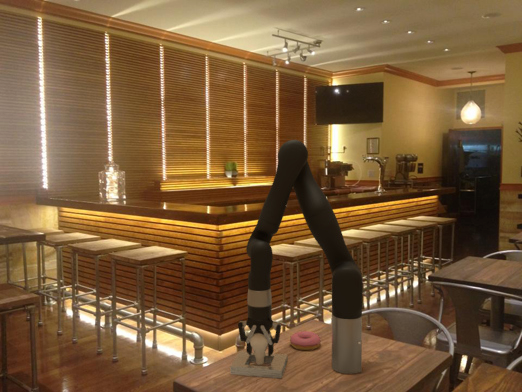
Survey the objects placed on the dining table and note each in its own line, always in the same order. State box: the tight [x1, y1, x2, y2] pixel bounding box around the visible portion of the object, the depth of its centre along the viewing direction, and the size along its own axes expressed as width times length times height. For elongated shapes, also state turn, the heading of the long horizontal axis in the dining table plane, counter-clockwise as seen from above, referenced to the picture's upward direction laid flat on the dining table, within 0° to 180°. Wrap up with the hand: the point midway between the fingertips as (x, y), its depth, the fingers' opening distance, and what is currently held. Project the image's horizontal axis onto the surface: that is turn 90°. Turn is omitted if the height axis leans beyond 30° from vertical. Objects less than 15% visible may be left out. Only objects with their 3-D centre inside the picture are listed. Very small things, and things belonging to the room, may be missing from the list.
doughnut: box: [289, 330, 322, 351], centre depth 169 cm, size 11×11×4 cm
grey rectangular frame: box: [229, 350, 288, 380], centre depth 151 cm, size 16×12×2 cm
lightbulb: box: [250, 333, 269, 366], centre depth 151 cm, size 6×6×11 cm
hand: (259, 354), depth 151 cm, fingers closed on lightbulb, 5 cm apart
